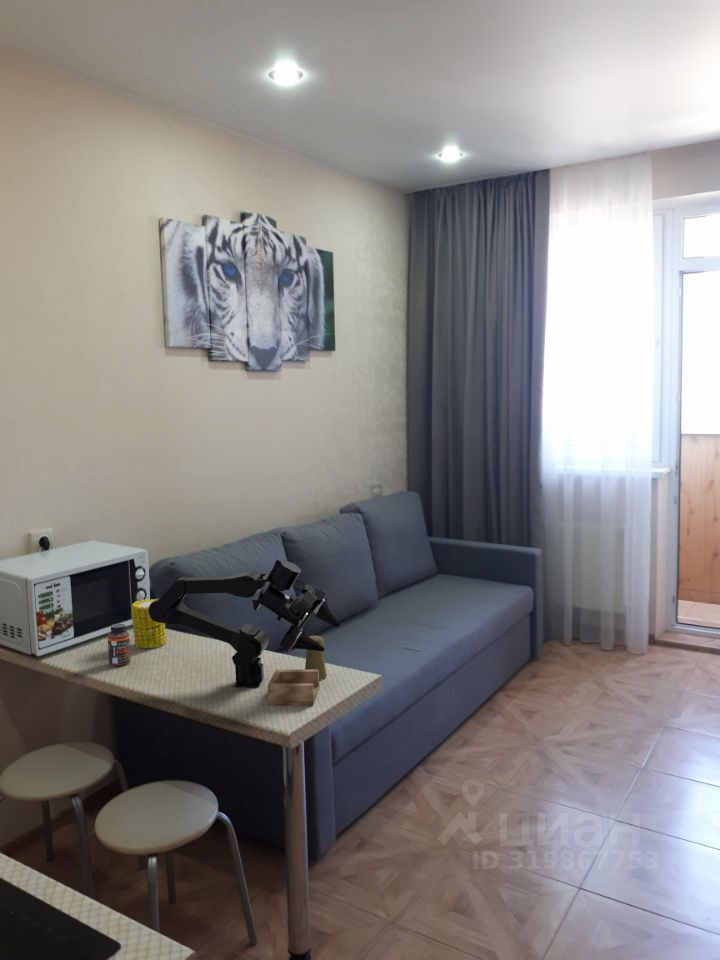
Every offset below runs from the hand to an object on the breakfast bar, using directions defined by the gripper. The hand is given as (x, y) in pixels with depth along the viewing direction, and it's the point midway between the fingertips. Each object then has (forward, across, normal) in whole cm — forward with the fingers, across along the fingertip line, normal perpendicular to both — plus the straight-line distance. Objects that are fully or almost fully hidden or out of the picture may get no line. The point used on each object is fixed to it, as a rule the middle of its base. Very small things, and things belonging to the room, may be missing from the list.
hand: (332, 637), depth 190 cm
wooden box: (0, -14, +9) cm, 17 cm away
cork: (+2, -2, +15) cm, 15 cm away
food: (-46, +1, +53) cm, 70 cm away
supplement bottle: (-47, -13, +46) cm, 67 cm away
